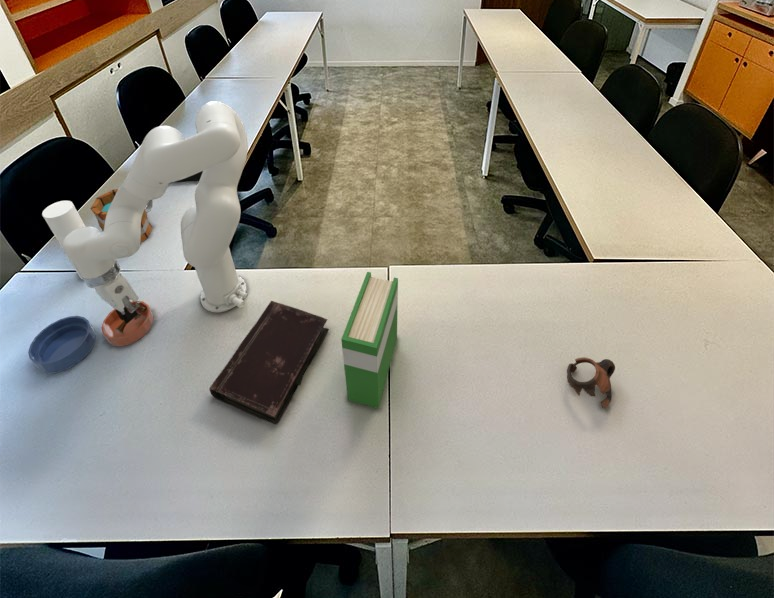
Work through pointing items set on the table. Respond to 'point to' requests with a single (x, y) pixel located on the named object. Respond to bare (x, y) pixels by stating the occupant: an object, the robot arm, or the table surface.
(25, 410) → the table surface
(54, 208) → the cylindrical container
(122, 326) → the wooden post with brackets
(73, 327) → the bowl
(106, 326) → the shallow terracotta dish
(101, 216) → the mug
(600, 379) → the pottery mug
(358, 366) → the hardback book
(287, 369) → the diary
